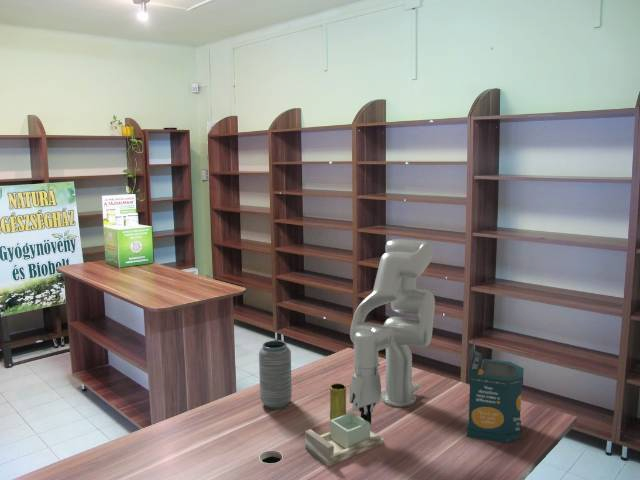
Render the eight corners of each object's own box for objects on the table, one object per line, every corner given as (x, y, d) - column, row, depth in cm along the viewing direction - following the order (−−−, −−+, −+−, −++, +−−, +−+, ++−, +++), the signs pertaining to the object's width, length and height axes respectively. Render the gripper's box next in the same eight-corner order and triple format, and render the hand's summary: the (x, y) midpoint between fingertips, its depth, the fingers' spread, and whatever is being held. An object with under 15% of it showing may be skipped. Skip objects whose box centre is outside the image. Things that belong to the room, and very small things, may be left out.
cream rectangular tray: (359, 427, 181) (359, 410, 180) (383, 442, 172) (383, 424, 171) (305, 449, 169) (305, 431, 168) (328, 466, 159) (328, 447, 158)
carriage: (351, 429, 177) (351, 412, 176) (370, 440, 170) (370, 422, 169) (330, 437, 172) (329, 420, 171) (347, 450, 165) (347, 431, 164)
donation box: (472, 414, 190) (474, 337, 185) (520, 421, 184) (524, 343, 179) (466, 436, 175) (469, 354, 170) (520, 445, 169) (524, 360, 164)
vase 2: (345, 431, 179) (345, 390, 177) (327, 429, 180) (327, 389, 178) (348, 422, 185) (348, 383, 182) (331, 421, 186) (330, 381, 184)
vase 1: (294, 408, 195) (293, 348, 191) (262, 413, 192) (260, 351, 189) (288, 395, 206) (287, 337, 203) (258, 398, 203) (256, 340, 200)
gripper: (375, 360, 179) (375, 412, 182) (340, 371, 170) (340, 426, 173) (391, 367, 173) (391, 421, 176) (355, 379, 164) (355, 435, 167)
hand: (366, 423), depth 174 cm, fingers closed
